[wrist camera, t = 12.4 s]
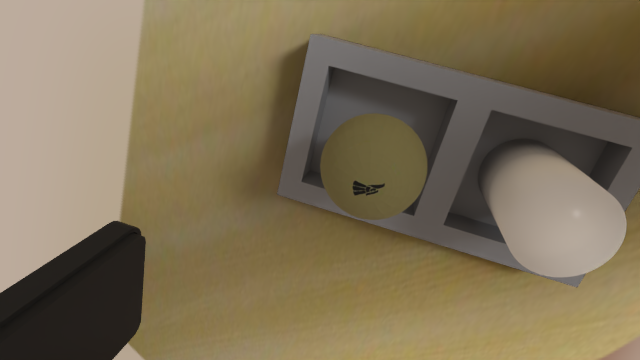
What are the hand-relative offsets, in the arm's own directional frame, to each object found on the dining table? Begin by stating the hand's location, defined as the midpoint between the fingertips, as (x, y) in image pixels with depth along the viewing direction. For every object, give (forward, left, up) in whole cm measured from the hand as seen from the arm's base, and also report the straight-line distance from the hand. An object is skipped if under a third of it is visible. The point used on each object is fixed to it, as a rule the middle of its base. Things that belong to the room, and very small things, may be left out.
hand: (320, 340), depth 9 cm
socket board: (-5, 0, -20) cm, 21 cm away
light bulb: (0, 0, -20) cm, 20 cm away
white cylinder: (-10, 0, -20) cm, 22 cm away
